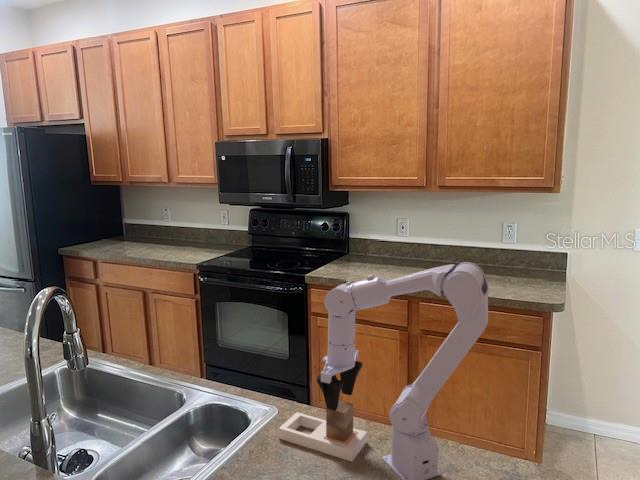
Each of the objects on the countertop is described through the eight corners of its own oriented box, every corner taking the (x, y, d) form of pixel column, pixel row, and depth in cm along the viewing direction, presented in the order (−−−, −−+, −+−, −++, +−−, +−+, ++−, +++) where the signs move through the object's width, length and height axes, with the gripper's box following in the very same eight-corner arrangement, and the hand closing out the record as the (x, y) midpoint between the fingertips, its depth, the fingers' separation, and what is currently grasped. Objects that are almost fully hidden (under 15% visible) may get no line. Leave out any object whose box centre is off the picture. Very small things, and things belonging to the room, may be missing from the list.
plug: (353, 431, 104) (353, 404, 103) (344, 441, 100) (345, 413, 99) (335, 426, 106) (335, 399, 105) (326, 436, 102) (326, 408, 101)
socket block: (366, 442, 105) (366, 431, 104) (351, 461, 98) (352, 449, 97) (296, 421, 113) (296, 411, 113) (278, 438, 106) (278, 427, 106)
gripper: (339, 327, 108) (337, 383, 110) (307, 348, 95) (307, 411, 98) (367, 333, 105) (365, 390, 107) (339, 355, 92) (337, 420, 94)
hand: (339, 401), depth 102 cm, fingers open, 7 cm apart
